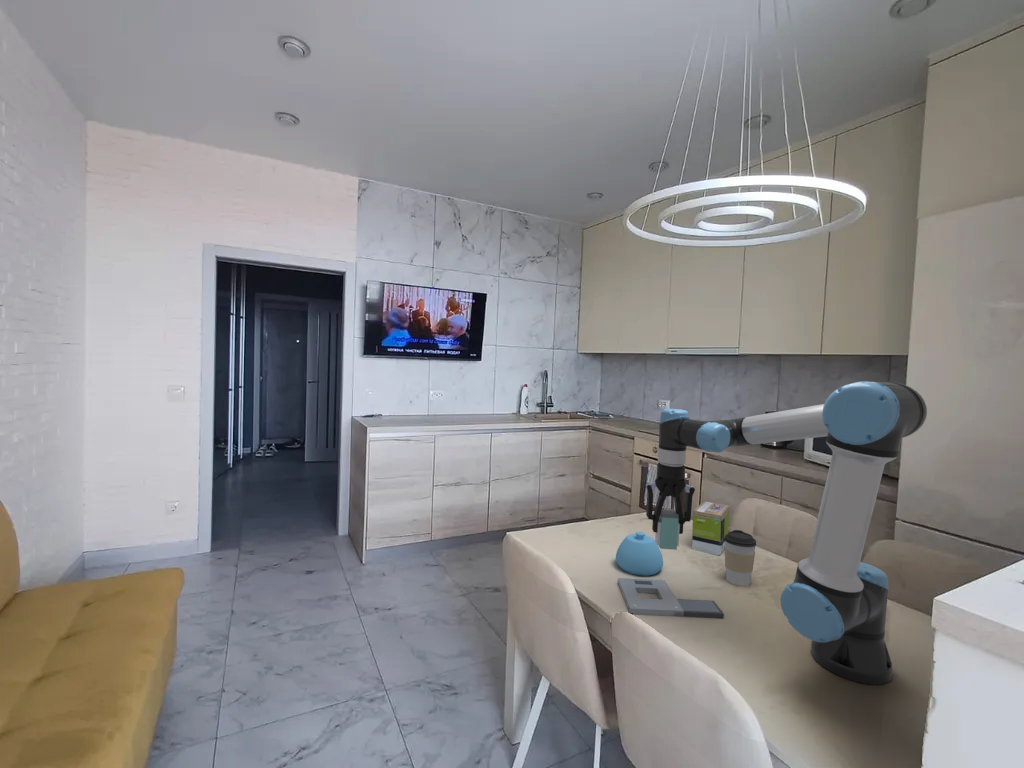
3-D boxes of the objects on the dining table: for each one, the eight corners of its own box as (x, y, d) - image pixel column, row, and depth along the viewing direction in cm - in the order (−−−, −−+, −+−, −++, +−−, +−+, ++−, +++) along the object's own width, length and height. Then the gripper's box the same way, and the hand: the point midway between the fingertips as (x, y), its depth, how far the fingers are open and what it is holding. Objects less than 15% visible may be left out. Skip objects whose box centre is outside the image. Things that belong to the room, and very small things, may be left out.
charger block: (676, 549, 135) (678, 515, 135) (660, 548, 136) (662, 513, 135) (672, 543, 140) (674, 509, 139) (656, 542, 140) (658, 508, 140)
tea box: (701, 537, 186) (703, 500, 186) (729, 544, 180) (731, 505, 180) (690, 549, 174) (692, 509, 173) (720, 556, 168) (722, 515, 168)
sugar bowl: (645, 582, 147) (647, 545, 146) (606, 565, 158) (607, 531, 158) (671, 569, 157) (673, 534, 156) (632, 554, 168) (634, 521, 167)
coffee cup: (758, 589, 144) (760, 540, 143) (725, 585, 146) (728, 537, 145) (749, 576, 153) (752, 530, 152) (719, 573, 155) (721, 527, 154)
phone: (723, 618, 127) (723, 613, 127) (674, 615, 127) (674, 611, 127) (713, 604, 134) (713, 600, 134) (666, 602, 134) (666, 598, 134)
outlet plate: (683, 616, 127) (683, 610, 127) (630, 613, 128) (630, 608, 128) (664, 584, 145) (664, 579, 145) (617, 582, 146) (618, 577, 146)
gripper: (699, 462, 139) (694, 540, 141) (637, 459, 141) (633, 536, 142) (707, 468, 132) (702, 551, 133) (642, 464, 133) (637, 546, 135)
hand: (666, 543), depth 138 cm, fingers closed on charger block, 4 cm apart
